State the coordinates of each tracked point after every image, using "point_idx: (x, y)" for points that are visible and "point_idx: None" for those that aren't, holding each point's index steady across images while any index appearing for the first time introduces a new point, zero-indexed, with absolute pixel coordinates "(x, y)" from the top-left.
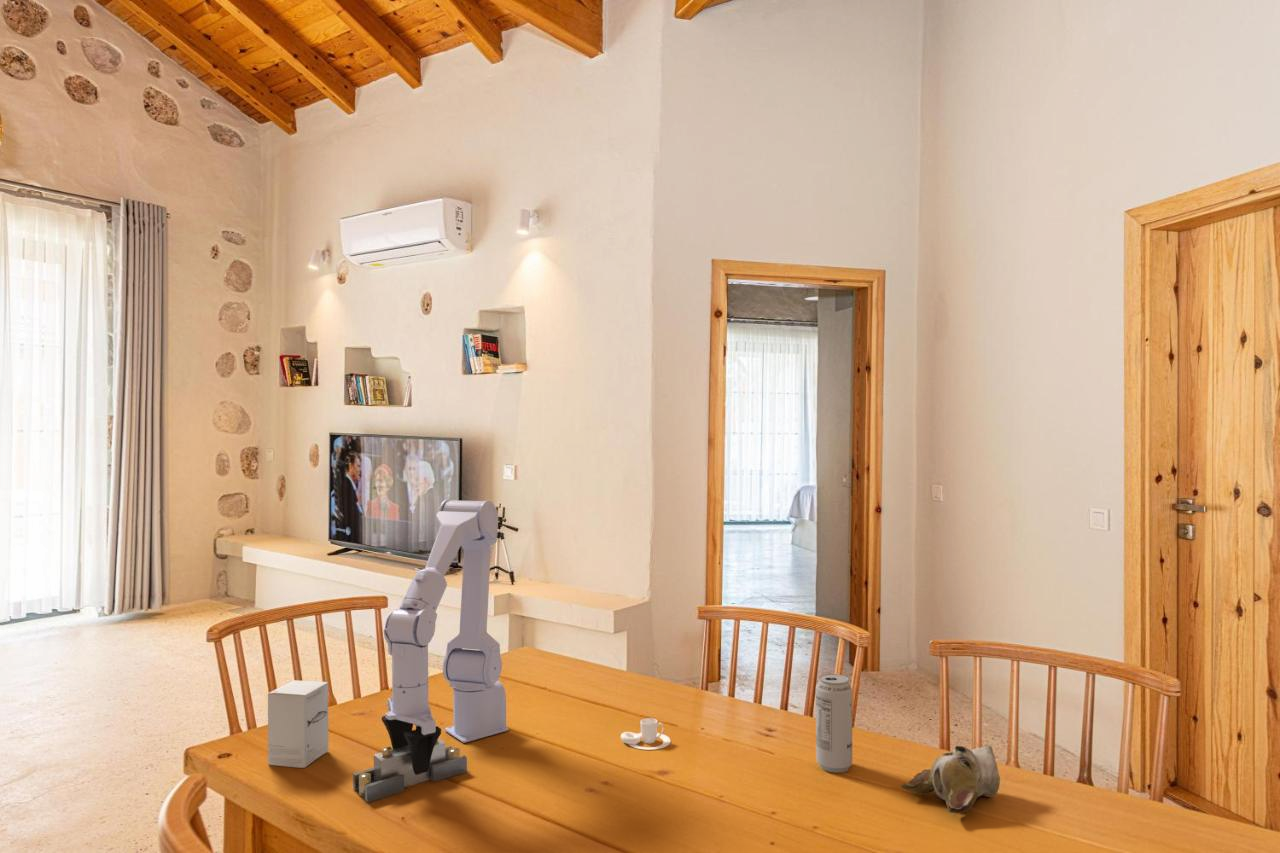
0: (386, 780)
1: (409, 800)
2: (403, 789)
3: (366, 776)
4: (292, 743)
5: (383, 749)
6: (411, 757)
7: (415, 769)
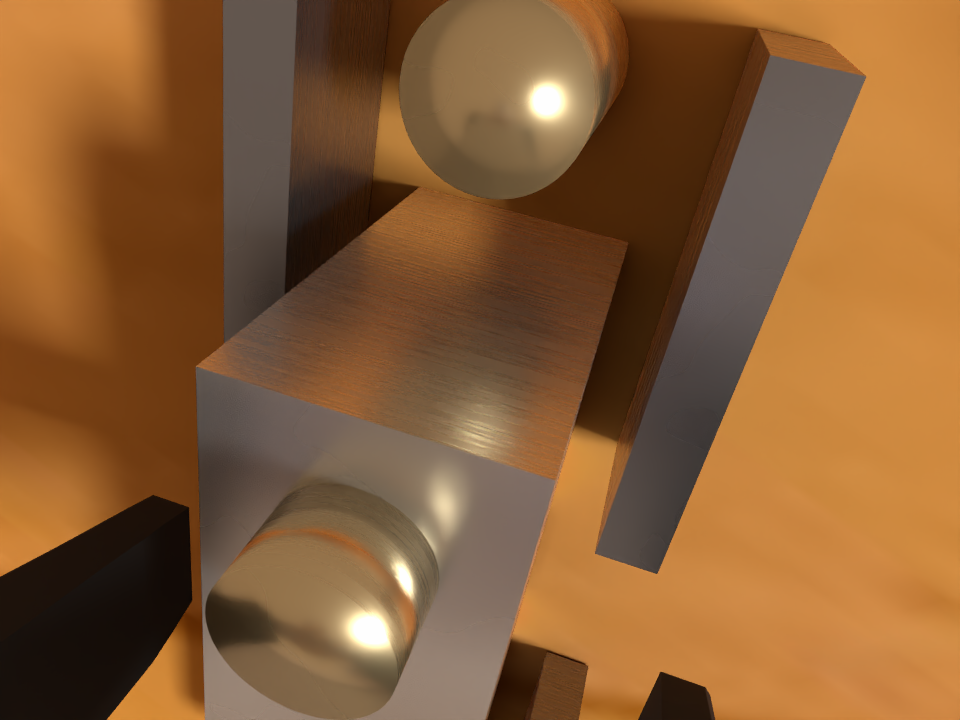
0: (239, 246)
1: (127, 261)
2: None
3: (438, 95)
4: None
5: (311, 610)
6: (19, 622)
7: (99, 526)
